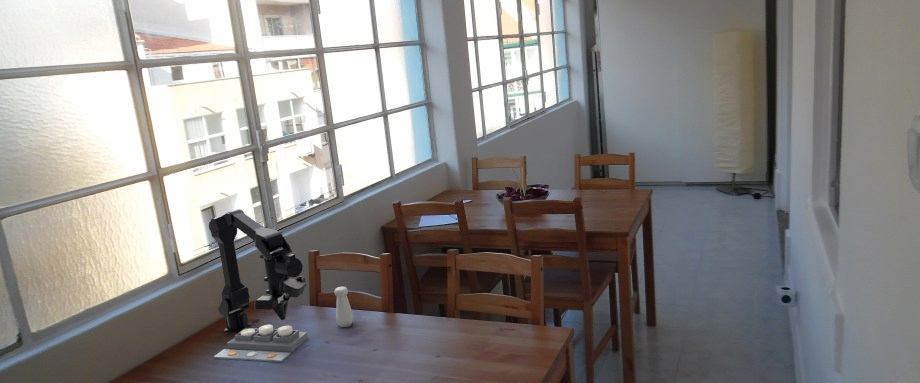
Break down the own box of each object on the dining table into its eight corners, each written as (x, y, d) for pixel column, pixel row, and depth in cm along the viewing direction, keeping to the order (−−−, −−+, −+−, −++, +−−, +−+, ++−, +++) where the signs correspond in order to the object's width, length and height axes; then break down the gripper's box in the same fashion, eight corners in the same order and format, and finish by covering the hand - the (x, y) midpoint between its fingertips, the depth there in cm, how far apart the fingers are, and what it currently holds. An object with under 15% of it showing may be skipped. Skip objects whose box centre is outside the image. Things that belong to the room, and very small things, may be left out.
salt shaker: (350, 328, 226) (345, 291, 223) (334, 328, 227) (329, 291, 224) (356, 321, 231) (351, 284, 229) (340, 321, 233) (335, 284, 230)
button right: (275, 336, 216) (275, 331, 216) (283, 330, 220) (282, 325, 220) (288, 336, 215) (287, 331, 214) (295, 331, 219) (294, 325, 218)
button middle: (256, 335, 218) (255, 330, 218) (264, 329, 222) (263, 324, 222) (268, 336, 217) (267, 330, 217) (276, 330, 221) (275, 324, 221)
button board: (228, 348, 219) (226, 338, 219) (246, 335, 229) (244, 325, 228) (291, 352, 212) (289, 341, 211) (307, 338, 222) (306, 327, 221)
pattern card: (214, 358, 213) (213, 355, 213) (224, 350, 218) (223, 348, 218) (281, 362, 206) (281, 359, 206) (290, 354, 211) (290, 352, 211)
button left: (238, 339, 221) (237, 334, 220) (246, 333, 225) (245, 328, 224) (250, 339, 219) (249, 334, 219) (258, 333, 224) (257, 328, 223)
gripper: (282, 283, 202) (290, 333, 205) (313, 262, 219) (320, 308, 223) (249, 283, 205) (257, 331, 209) (283, 262, 223) (290, 307, 226)
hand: (283, 319), depth 217 cm, fingers closed
